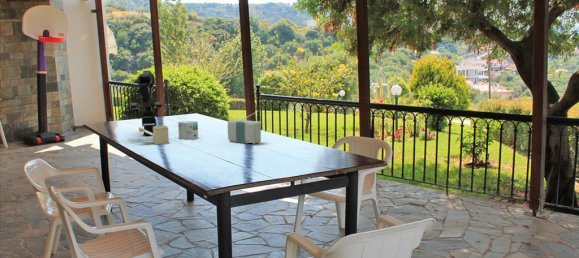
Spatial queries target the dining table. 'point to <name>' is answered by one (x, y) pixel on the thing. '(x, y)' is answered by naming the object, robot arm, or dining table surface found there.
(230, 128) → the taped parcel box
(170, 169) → the dining table surface
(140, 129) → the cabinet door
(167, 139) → the kraft carton
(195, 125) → the light bulb box
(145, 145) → the dining table surface
